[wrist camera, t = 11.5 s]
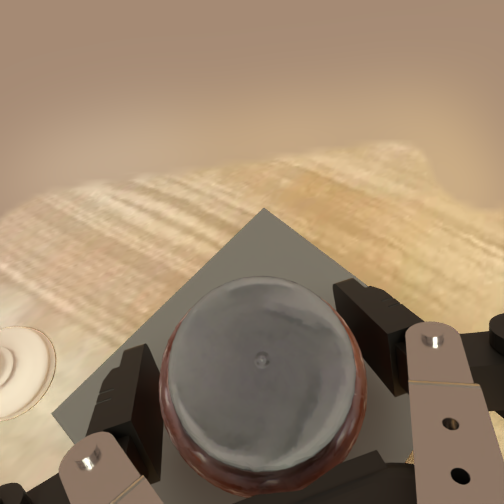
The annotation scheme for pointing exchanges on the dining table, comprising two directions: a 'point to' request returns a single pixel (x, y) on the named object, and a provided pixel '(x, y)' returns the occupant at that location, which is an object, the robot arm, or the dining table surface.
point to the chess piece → (23, 369)
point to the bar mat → (206, 279)
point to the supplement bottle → (262, 387)
